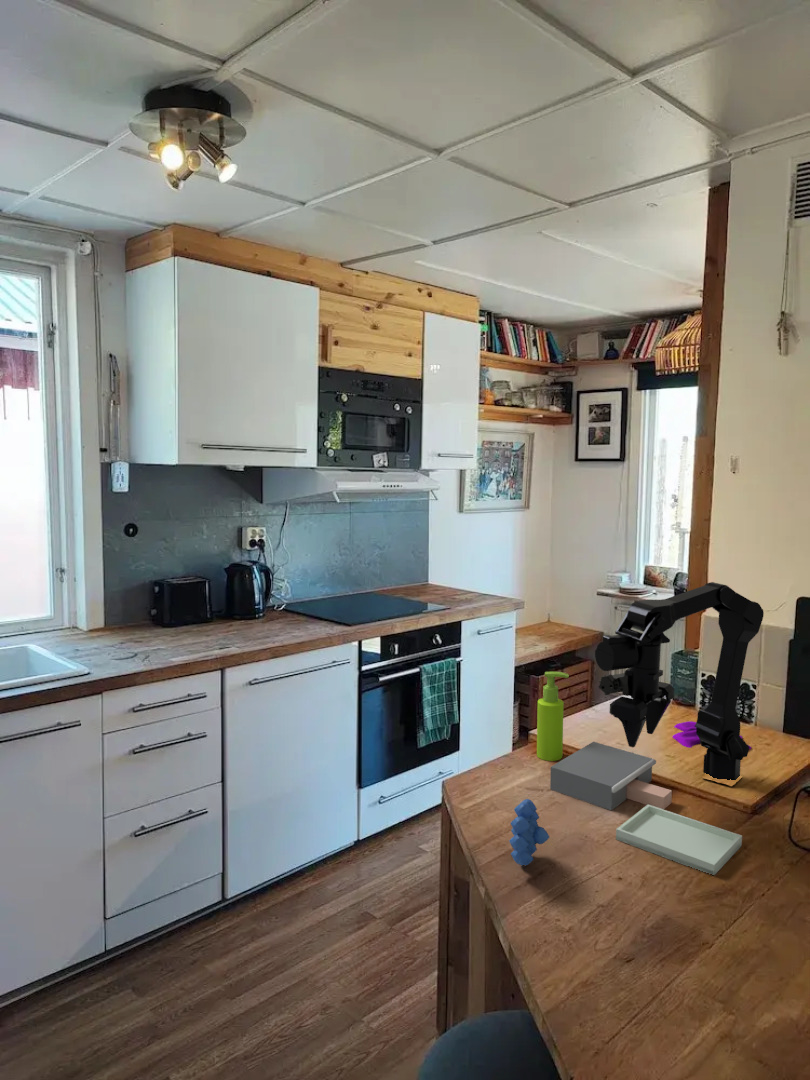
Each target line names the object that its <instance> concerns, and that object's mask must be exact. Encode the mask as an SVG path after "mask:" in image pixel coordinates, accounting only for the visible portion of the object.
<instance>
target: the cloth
mask: <svg viewBox="0 0 810 1080" xmlns="http://www.w3.org/2000/svg"><path fill="white" fill-rule="evenodd" d="M696 722H697V721H684V722H683V721H682V722H680V723H676V724H675V725H674V728H675V729H677V730H680V731H681V732H677V733H675V734H673V735H672V739H674V740H675V741H676V742H678V743H679V744H680V745H681V746H683V747H685V748H689V749H691V748H692V747H694V746H695V745H701V743H700V739H699V737H698V735H697V734H696V727H695V724H696ZM740 737H741V738H742V739H743V736H742V735H740ZM747 745H748V746H749V747H750V748H749V749H751V748H752V746H750V745H749V744H747ZM751 750H752V749H751Z"/></svg>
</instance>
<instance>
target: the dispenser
mask: <svg viewBox="0 0 810 1080" xmlns="http://www.w3.org/2000/svg"><path fill="white" fill-rule="evenodd" d="M656 764H657V760H656V759H655V758H652V757H649V756H644V755H641V754H638V753H634V752H631V751H628V750H624V749H620V748H618V747H614V746H610V745H607V744H604V743H600V742H596V741H592V742H590V743H589V744H587V745H585V746H583V747H582V748H580V749H579V750H577V751H575V752H574V753H572V754H570V755H569V756H566V757H565V758H563V759H560V760H559V761H558V762H556V763H555V764H553V765H551V766H550V785H549V788H550V789H549V790H551V791H554V792H557V793H560V794H563V795H566V796H568V797H570V798H575V799H577V800H580V801H583V802H586V803H589V804H592V805H594V806H597V807H599V808H602V809H605V810H609V811H612V810H614V809H615V808H617V807H618V806H619V805H621V804H622V803H623V802H625V801H627V798H626V790H627V784H628V783H629V782H631V781H632V780H634V779H636V780H639V781H642V782H646V783H649V784H650V783H651V782H652V773H653V772H652V771H653V766H655V765H656Z"/></svg>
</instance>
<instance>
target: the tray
mask: <svg viewBox="0 0 810 1080" xmlns="http://www.w3.org/2000/svg"><path fill="white" fill-rule="evenodd" d="M615 840H616V841H618V842H622V843H625V844H628V845H630V846H632V847H635V848H638V849H641V850H644V851H646V852H649V853H650V854H654V855H656V856H659V857H662V858H664V859H667V860H670V861H672V860H673V862H676V863H678V864H681V865H683V866H686V867H688V866H690V867H689V868H691V867H692V869H694V868H695V870H696V869H698V870H697V871H699V870H700V871H699V872H702V871H703V872H702V873H704V872H706V873H705V874H707V873H709V874H708V875H710V874H712V875H714V876H716V874H718V872H719V871H720V870H721V869H722V868H723V867H724V866H725V864H727V862H728V861H729V860H730V859H731V858H732V857H733V856H734V855H735V854H736V853H737V852H738V850H739V849H741V847H742V841H743V835H741V834H739V833H736V832H732V831H729V830H726V829H723V828H720V827H718V826H714V825H712V824H709V823H705V822H702V821H700V820H696V819H694V818H690V817H687V816H684V815H682V814H681V815H680V814H678V813H675V812H672V811H669V810H665V809H661V808H658V807H655V806H652V805H646V804H645V806H644V807H643V808H641V809H640V810H638V812H636V813H635V814H634V815H632V816H631V817H630V818H628V819H627V820H626V821H625V822H624V823H622V824H621V825H620V826H618V827H616V829H615ZM712 875H711V876H712Z"/></svg>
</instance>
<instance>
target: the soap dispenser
mask: <svg viewBox="0 0 810 1080" xmlns="http://www.w3.org/2000/svg"><path fill="white" fill-rule="evenodd" d="M569 676H570V675H569V673H567V672H562V671H545V672H544V677H546V684H545V685H543V687H542V689H543V690H542V693H543V694H542V697H541V698H538V700H537V709H536V711H537V713H536V715H537V717H536V723H537V724H536V757H537V758H538V759H540V760H541V761H548V762H549V761H550V762H555V761H561V760H562V758H563V754H564V753H563V747H564V746H563V743H564V703H565V701H564V700H562V699H560V698H559V686H558V685H556V683H555V680H556V677H557V678H565V679H568V678H569Z"/></svg>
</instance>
